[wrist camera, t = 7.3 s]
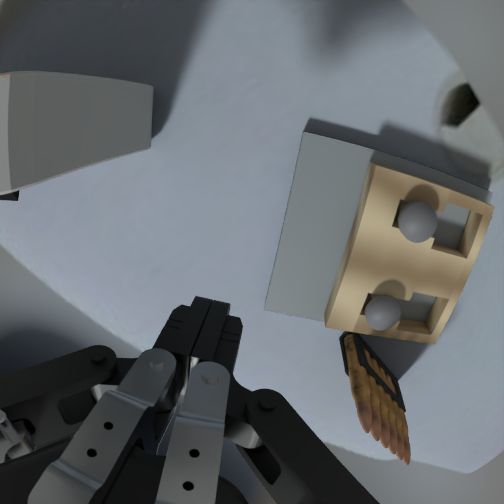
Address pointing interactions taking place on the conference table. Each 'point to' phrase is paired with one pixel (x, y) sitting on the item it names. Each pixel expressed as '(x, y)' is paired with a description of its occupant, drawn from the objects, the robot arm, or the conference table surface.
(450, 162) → the conference table surface
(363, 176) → the board
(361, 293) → the beech panel
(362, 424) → the ammunition clip
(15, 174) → the rounded white slab
